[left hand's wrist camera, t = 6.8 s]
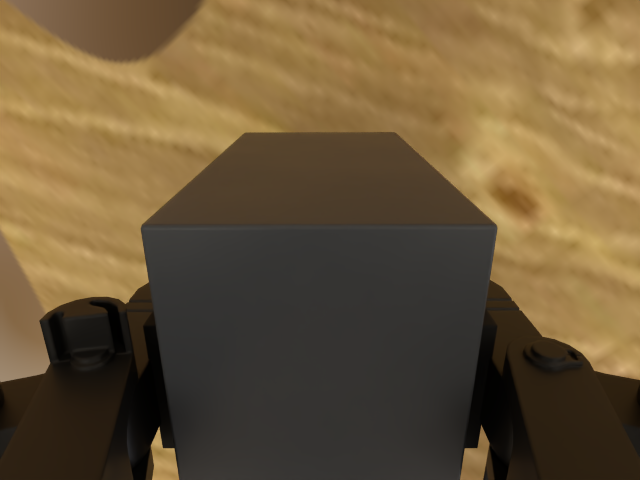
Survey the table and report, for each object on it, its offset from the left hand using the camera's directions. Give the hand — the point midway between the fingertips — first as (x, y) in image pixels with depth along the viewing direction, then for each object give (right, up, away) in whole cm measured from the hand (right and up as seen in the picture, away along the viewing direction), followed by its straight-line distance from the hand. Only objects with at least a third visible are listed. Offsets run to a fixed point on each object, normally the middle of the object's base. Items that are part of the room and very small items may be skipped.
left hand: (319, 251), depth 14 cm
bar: (0, -9, +4) cm, 10 cm away
